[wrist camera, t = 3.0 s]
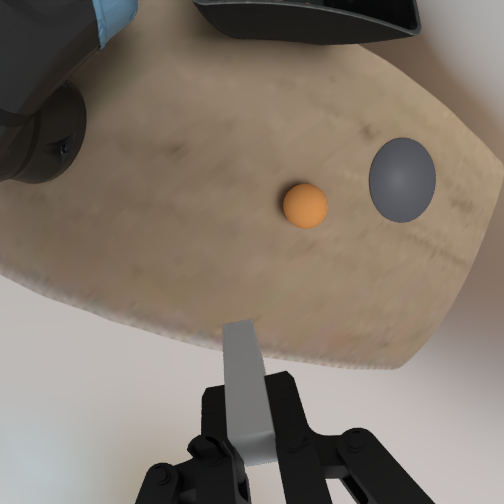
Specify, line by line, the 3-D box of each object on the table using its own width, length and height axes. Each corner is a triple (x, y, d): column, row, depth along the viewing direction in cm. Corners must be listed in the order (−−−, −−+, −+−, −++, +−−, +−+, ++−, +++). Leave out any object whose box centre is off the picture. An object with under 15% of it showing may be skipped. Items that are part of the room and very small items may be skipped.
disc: (372, 230, 39) (373, 230, 39) (363, 141, 34) (364, 141, 34) (435, 214, 40) (436, 214, 39) (431, 135, 35) (432, 135, 34)
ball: (283, 225, 38) (293, 239, 33) (275, 185, 36) (284, 193, 31) (322, 216, 38) (337, 228, 33) (316, 177, 36) (331, 183, 31)
